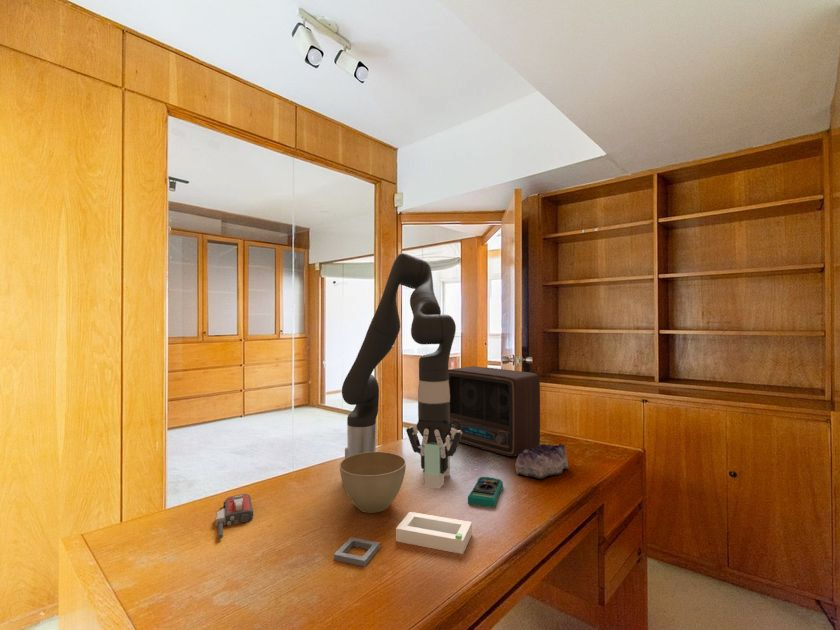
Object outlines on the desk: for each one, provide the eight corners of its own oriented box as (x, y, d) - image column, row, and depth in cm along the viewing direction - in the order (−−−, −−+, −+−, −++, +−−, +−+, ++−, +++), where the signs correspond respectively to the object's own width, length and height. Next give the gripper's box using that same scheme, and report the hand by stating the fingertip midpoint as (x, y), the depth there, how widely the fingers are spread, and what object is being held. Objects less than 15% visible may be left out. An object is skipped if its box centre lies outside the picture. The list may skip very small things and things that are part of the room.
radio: (441, 440, 177) (440, 368, 177) (468, 432, 189) (468, 365, 189) (513, 462, 150) (513, 378, 150) (540, 451, 162) (540, 373, 162)
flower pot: (333, 499, 121) (333, 456, 121) (393, 488, 128) (392, 448, 128) (348, 528, 104) (348, 479, 104) (416, 514, 111) (415, 468, 111)
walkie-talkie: (216, 508, 116) (215, 544, 98) (216, 492, 116) (215, 525, 98) (250, 502, 120) (255, 535, 102) (250, 486, 120) (255, 517, 102)
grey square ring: (334, 559, 91) (334, 554, 91) (351, 542, 98) (351, 537, 98) (364, 566, 88) (364, 560, 88) (379, 548, 95) (379, 542, 95)
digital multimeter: (503, 487, 129) (503, 477, 129) (494, 509, 115) (494, 498, 115) (478, 484, 132) (478, 474, 132) (467, 505, 117) (467, 494, 117)
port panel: (396, 541, 98) (395, 525, 98) (409, 523, 106) (409, 509, 106) (462, 554, 93) (462, 537, 93) (471, 534, 101) (471, 519, 101)
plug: (424, 486, 98) (424, 443, 98) (429, 480, 102) (429, 439, 102) (439, 488, 97) (439, 445, 97) (443, 482, 101) (443, 441, 101)
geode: (547, 460, 152) (551, 434, 151) (575, 475, 143) (579, 446, 142) (507, 470, 141) (511, 441, 140) (534, 486, 131) (538, 455, 130)
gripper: (400, 400, 98) (400, 473, 98) (458, 403, 94) (459, 481, 94) (411, 394, 106) (412, 463, 106) (466, 397, 101) (467, 469, 101)
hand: (434, 471), depth 100 cm, fingers closed on plug, 3 cm apart
